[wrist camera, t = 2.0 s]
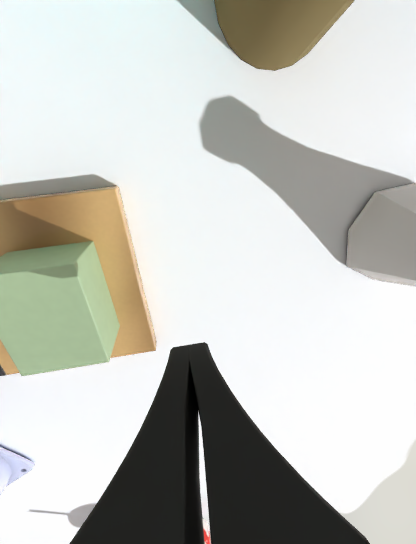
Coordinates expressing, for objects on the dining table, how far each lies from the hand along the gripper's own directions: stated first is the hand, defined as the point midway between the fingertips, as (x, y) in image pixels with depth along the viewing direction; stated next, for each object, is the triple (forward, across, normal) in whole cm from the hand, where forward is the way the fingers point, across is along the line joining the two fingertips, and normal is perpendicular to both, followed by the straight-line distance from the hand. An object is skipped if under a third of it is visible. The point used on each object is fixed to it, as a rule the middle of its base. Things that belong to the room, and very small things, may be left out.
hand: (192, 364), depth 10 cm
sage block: (+8, +8, 0) cm, 11 cm away
